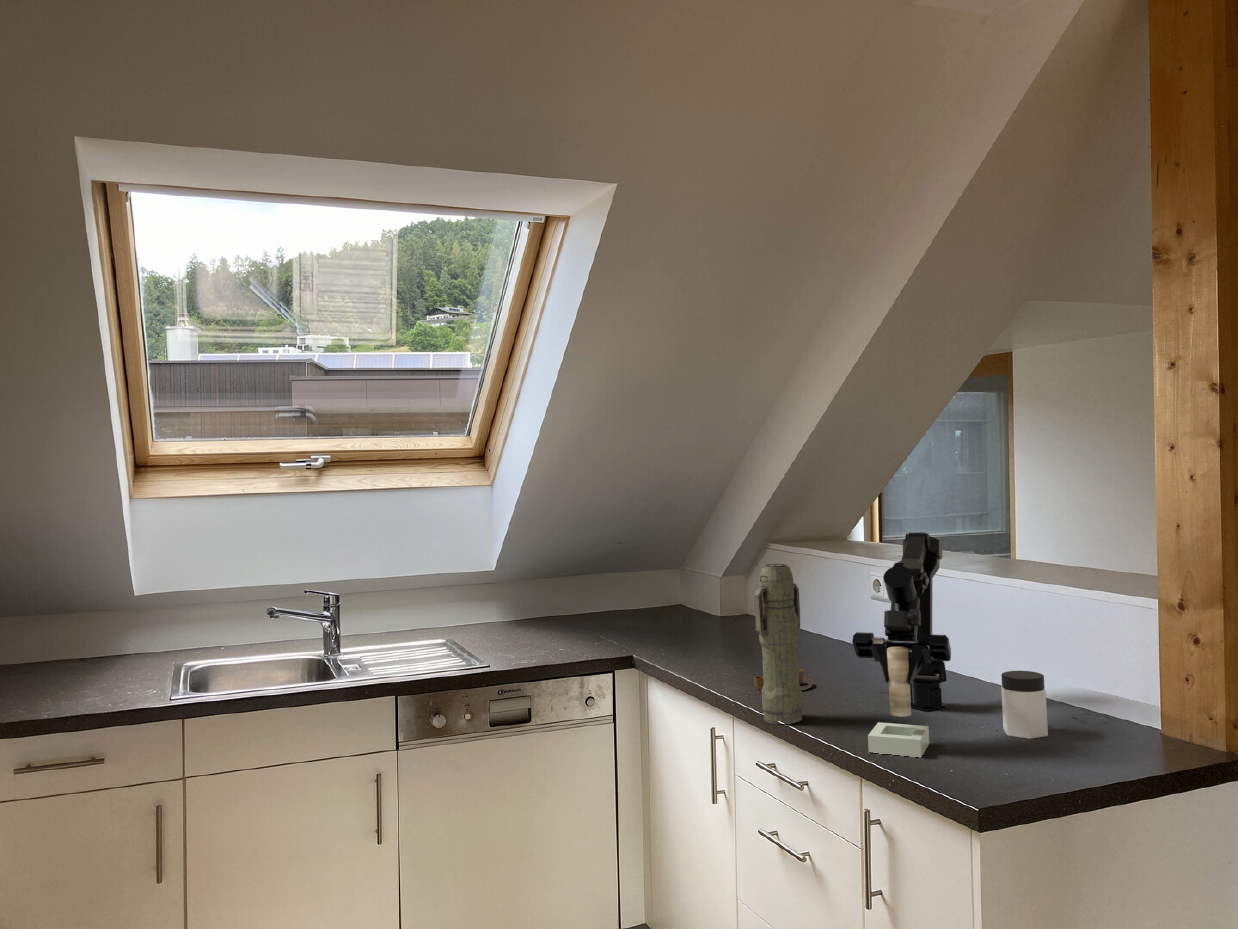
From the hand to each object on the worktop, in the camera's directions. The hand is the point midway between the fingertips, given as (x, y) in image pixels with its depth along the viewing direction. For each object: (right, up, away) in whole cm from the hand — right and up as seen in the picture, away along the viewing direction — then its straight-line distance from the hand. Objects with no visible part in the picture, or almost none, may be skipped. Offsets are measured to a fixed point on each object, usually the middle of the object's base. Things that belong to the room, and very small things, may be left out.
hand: (897, 682), depth 189 cm
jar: (+29, -12, +8) cm, 32 cm away
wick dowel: (+1, -7, +1) cm, 7 cm away
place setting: (-15, -15, +56) cm, 60 cm away
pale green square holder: (+1, -13, +1) cm, 14 cm away
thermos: (-18, -15, +27) cm, 35 cm away
